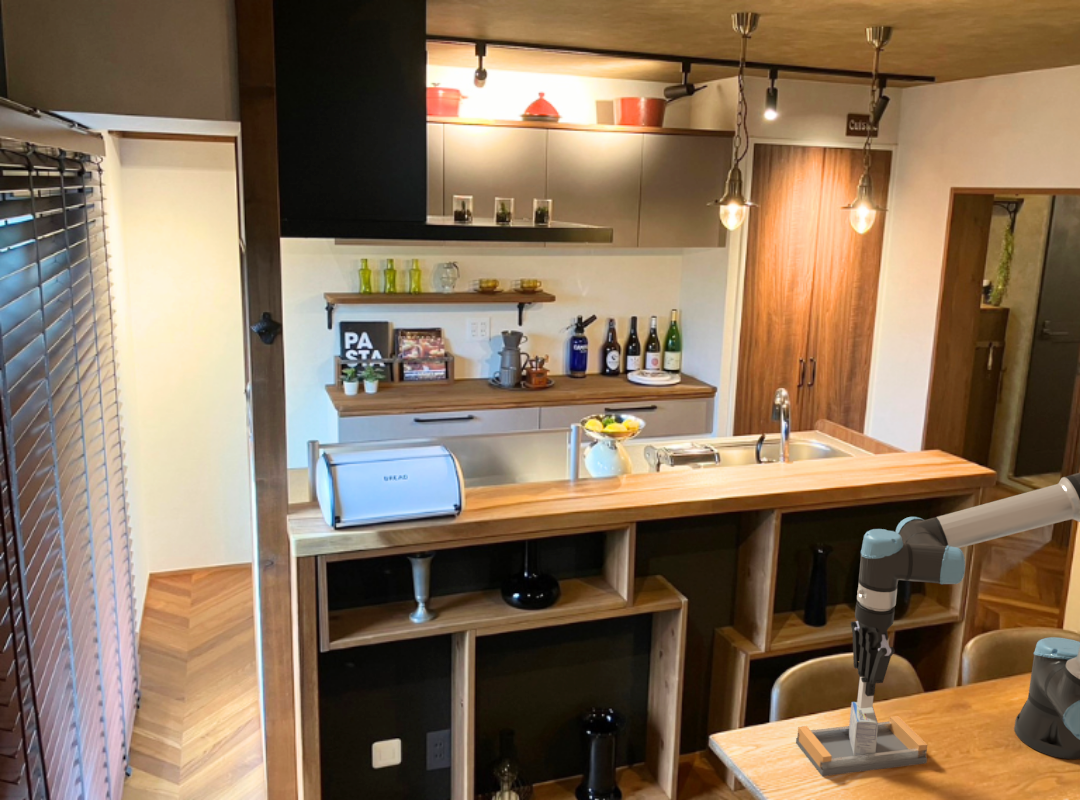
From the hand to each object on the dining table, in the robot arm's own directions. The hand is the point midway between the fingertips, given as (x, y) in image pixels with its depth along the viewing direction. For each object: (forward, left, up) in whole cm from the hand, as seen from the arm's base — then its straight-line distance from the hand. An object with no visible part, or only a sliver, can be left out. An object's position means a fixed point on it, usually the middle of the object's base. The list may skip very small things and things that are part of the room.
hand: (864, 705), depth 189 cm
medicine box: (0, 0, -10) cm, 10 cm away
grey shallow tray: (0, 0, -11) cm, 11 cm away
